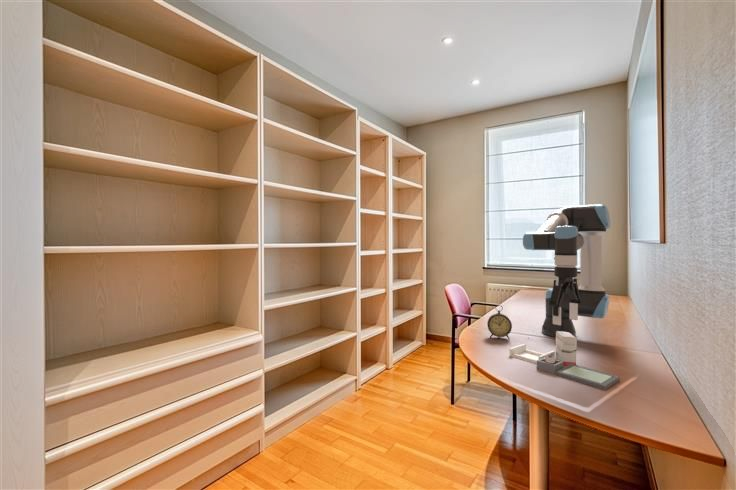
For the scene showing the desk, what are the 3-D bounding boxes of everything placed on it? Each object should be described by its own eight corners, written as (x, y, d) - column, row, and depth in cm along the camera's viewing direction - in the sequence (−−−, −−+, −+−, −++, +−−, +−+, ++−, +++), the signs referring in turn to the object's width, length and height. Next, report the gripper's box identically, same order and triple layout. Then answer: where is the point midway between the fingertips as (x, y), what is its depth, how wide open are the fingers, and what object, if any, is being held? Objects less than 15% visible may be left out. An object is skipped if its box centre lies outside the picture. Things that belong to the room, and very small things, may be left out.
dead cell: (547, 367, 126) (547, 353, 126) (556, 369, 123) (556, 355, 123) (543, 369, 124) (543, 355, 124) (552, 371, 121) (552, 357, 121)
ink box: (577, 369, 126) (577, 337, 126) (562, 368, 127) (562, 336, 127) (568, 361, 135) (568, 331, 134) (554, 360, 136) (554, 330, 135)
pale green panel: (573, 368, 124) (573, 365, 124) (612, 379, 114) (612, 376, 114) (561, 374, 118) (561, 371, 118) (601, 386, 109) (601, 383, 109)
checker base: (571, 369, 126) (571, 363, 126) (619, 383, 114) (619, 376, 114) (555, 377, 119) (555, 371, 119) (604, 392, 107) (604, 385, 107)
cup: (545, 367, 128) (545, 356, 128) (563, 372, 123) (563, 361, 123) (536, 371, 124) (536, 360, 124) (554, 377, 119) (554, 365, 119)
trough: (524, 352, 145) (524, 343, 145) (554, 361, 134) (554, 351, 134) (509, 358, 138) (509, 348, 138) (540, 367, 128) (540, 357, 128)
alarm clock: (487, 338, 166) (487, 305, 166) (487, 335, 171) (487, 303, 171) (511, 340, 163) (511, 306, 162) (510, 337, 168) (510, 304, 168)
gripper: (570, 264, 141) (570, 316, 141) (539, 267, 126) (538, 324, 126) (590, 265, 135) (590, 319, 135) (560, 268, 120) (560, 328, 120)
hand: (565, 322), depth 130 cm, fingers open, 13 cm apart
